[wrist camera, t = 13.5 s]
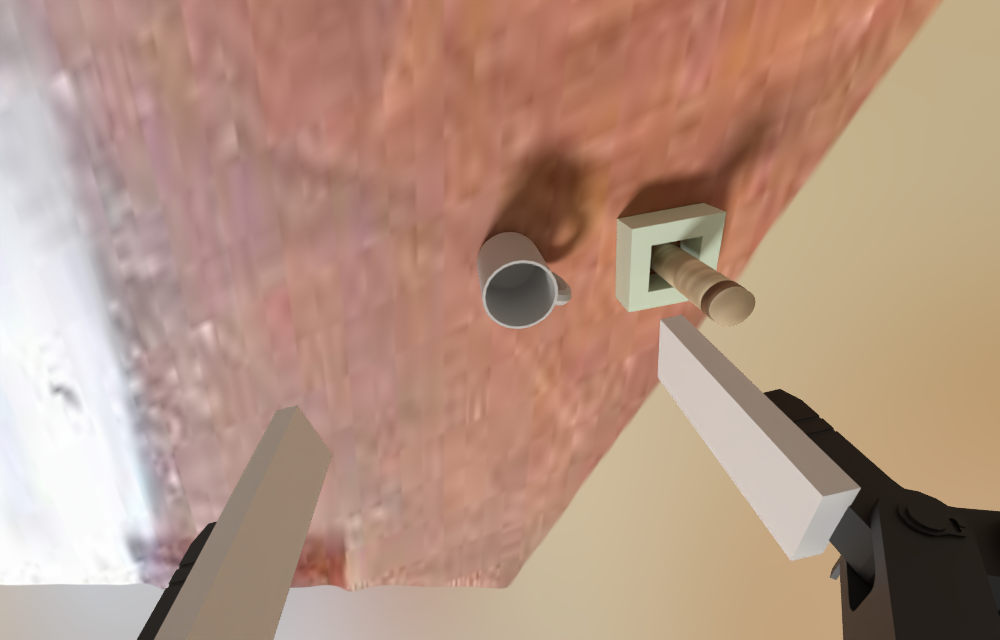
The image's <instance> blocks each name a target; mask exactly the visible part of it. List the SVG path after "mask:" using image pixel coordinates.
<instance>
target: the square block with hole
mask: <svg viewBox="0 0 1000 640" xmlns="http://www.w3.org/2000/svg"><path fill="white" fill-rule="evenodd" d="M725 217H726V211H723V210H721V209H718V208H716V207H713V206H711V205H708V204H705V203H699V204H694V205H688V206H683V207H678V208H672V209H667V210H661V211H656V212H650V213H645V214H640V215H634V216H629V217H623V218H618V219H617V245H616V295H615V297H616V298H617V299H618V300H619V301H620V303H621V304H622V305H623V306H624V307H625V309H626V310H627V311H628V312H633V311H638V310H643V309H648V308H654V307H659V306H664V305H669V304H675V303H680V302H685V301H690V300H688V299H687V298H686V297H685V296H684V295H682V294H681V293H680V292H679V291H678V290H676V289H675V288H674V287H673V286H672V285H670V284H669V283H668V282H667V281H666V280H664V279H663V278H662V277H661V276H660V275H658V274H657V273H656V274H651V275H649V274H650V260H651V247H652V246H653V245H658V244H663V243H669V242H674V241H679V240H681V242H680V248H681V249H683V250H684V251H686V252H688V253H689V254H691V255H692V256H694V257H695V258H697V259H699V260H700V261H702V262H703V263H705V264H706V265H708V266H710V267H711V268H713V269H714V270H716V268H717V262H718V257H719V251H720V245H721V240H722V234H723V228H724V223H725Z"/></svg>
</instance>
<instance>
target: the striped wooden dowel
mask: <svg viewBox="0 0 1000 640" xmlns="http://www.w3.org/2000/svg"><path fill="white" fill-rule="evenodd" d="M650 268H651V269H652V270H654V271H655V272H656V273H657V274H658V275H660V276H661V277H662V278H663V279H664V280H666V281H667V282H668V283H669V284H670V285H672V286H673V287H674V288H675V289H676V290H678V291H679V292H680V293H681V294H682V295H684V296H685V297H686V298H687V299H688V300H690V301H691V302H692V303H693V304H694V305H696V306H697V307H698V308H699V309H700V310H702V311H703V313H704V314H706V315H707V316H708V317H709V318H710V319H712V320H713V321H715V322H716V323H717V324H719V325H720V326H723V327H731V326H735V325H737V324H739V323H741V322H743V321H744V320H745V319H746V318H747V317H748V316H749V315H750V314H751V312H752V311H753V309H754V306H755V298H754V296H753V294H752V293H750V292H749V291H747V290H746V289H745V288H744V287H742V286H741V285H739V284H737V283H736V282H734V281H732V280H730V279H728V278H727V277H725V276H724V275H722V274H721V273H719V272H717V271H716V270H714V269H713V268H711V267H710V266H708V265H706V264H705V263H703V262H702V261H700V260H699V259H697V258H695V257H694V256H692V255H691V254H689V253H688V252H686V251H684V250H683V249H681V248H680V247H678V246H677V245H675V244H673V243H672V242H669V243H663V244H658V245H653V246H652V247H651V260H650Z"/></svg>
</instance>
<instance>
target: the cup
mask: <svg viewBox="0 0 1000 640" xmlns="http://www.w3.org/2000/svg"><path fill="white" fill-rule="evenodd" d="M477 269H478V276H479V282H480V288H481V294H482V300H483V306H484V308H485V310H486V312H487V314H488V315H489V316H490V318H491V319H492V320H493V321H495V322H496V323H498V324H499V325H501V326H504V327H507V328H515V329H520V328H527V327H530V326H533V325H535V324H537V323H539V322H540V321H542V320H544V319H545V318H546V317H547V316H548V315H549V314H550V313H551V311H552V309H553V308H554V306H555V305H564V304H566V303H567V302H568V301H569V300H570V299H571V289H570V287H569V285H568V284H567V283H566V282H565V281H564V280H563V279H562V278H561V277H559V276H558V275H557V274H555V273H553V272H551V271H550V269H549V267H548V266H547V264H546V262H545V261H544V259H543V257H542V256H541V254H540V252H539V250H538V249H537V247H536V246H535V244H534V243H533V242H532V241H531V240H530V239H529V238H527V237H526V236H524V235H522V234H520V233H516V232H504V233H500V234H497V235H495V236H493V237H491V238H490V239H489V240H487V241H486V242H485V244H484V245H483V246H482V247H481V250H480V252H479V254H478V259H477Z"/></svg>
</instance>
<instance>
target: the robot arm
mask: <svg viewBox="0 0 1000 640" xmlns="http://www.w3.org/2000/svg"><path fill="white" fill-rule="evenodd" d="M658 378H659V380H660V381H661V382H662V383H663V385H664V387H665V388H666V389H667V391H668V392H669V393H670V394H671V396H672V398H673V399H674V400H675V402H676V403H677V404H678V406H679V407H680V409H681V410H682V411H683V412H684V414H685V415H686V417H687V418H688V420H689V421H690V422H691V424H692V425H693V426H694V428H695V429H696V431H697V432H698V433H699V435H700V436H701V438H702V439H703V440H704V442H705V443H706V444H707V446H708V447H709V449H710V450H711V451H712V453H713V454H714V455H715V456H716V458H717V460H718V461H719V462H720V464H721V465H722V466H723V468H724V469H725V470H726V472H727V473H728V475H729V476H730V477H731V479H732V480H733V482H734V483H735V484H736V486H737V487H738V488H739V490H740V491H741V493H742V494H743V495H744V497H745V498H746V499H747V501H748V502H749V504H750V505H751V506H752V508H753V509H754V511H755V512H756V513H757V515H758V516H759V517H760V519H761V520H762V522H763V523H764V524H765V526H766V527H767V528H768V530H769V531H770V533H771V534H772V535H773V537H774V538H775V540H776V541H777V542H778V544H779V545H780V546H781V548H782V549H783V551H784V552H785V553H786V555H787V556H788V557H789V559H790V560H791V561H792V560H796V559H801V558H805V557H810V556H814V555H818V554H822V553H823V552H824V550H825V548H826V546H827V545H828V543H829V542H831V543H832V544H833V545H834V546H835V548H836V549H837V550H838V551H839V552H840V554H841V556H840V558H839V559H838V561H837V562H836V564H835V565H834V567H833V568H832V571H831V575H830V578H833V579H835V580H836V579H837V578H838V577H839V575H840V582H841V599H842V601H841V602H842V622H843V640H1000V511H988V510H977V509H966V508H956V507H950V506H947V505H946V504H944V503H942V502H941V501H939V500H937V499H936V498H933V497H930V496H928V495H926V494H923V493H921V492H918V491H913V490H908V489H904V488H902V487H901V486H900V485H898V484H897V483H896V482H894V481H893V480H892V479H891V478H890V477H888V476H887V475H886V474H885V473H884V472H883V471H882V470H880V469H879V468H878V467H877V466H876V465H875V464H874V463H873V462H871V461H870V460H869V459H868V458H867V457H866V456H864V455H863V454H862V453H861V452H860V451H859V450H858V449H857V448H855V447H854V446H853V445H852V444H851V443H850V442H849V441H847V440H846V439H845V438H844V437H843V436H842V435H841V434H840V433H838V432H837V431H836V432H835V431H834V429H833V427H832V426H831V425H829V424H828V423H827V422H826V421H825V420H824V419H821V418H819V415H818V414H817V413H816V412H815V411H813V410H812V409H811V408H810V407H809V406H808V405H807V404H805V403H804V402H803V401H802V400H800V399H798V398H797V397H795V396H793V395H791V394H789V393H787V392H785V391H783V390H781V389H778V390H774V391H769V392H765V393H762V392H761V391H760V390H759V389H758V388H757V387H756V386H755V385H754V384H753V383H752V382H751V381H750V380H749V379H748V378H747V377H746V376H745V375H744V374H743V373H742V372H741V371H740V370H739V369H737V367H735V366H734V365H733V364H732V363H731V362H730V361H729V360H728V359H727V358H726V357H725V356H724V355H723V354H722V353H721V352H720V351H719V350H718V349H717V348H716V347H715V346H714V345H713V344H712V343H711V342H710V341H709V340H708V339H707V338H705V337H704V336H703V335H702V334H701V333H700V332H699V331H698V330H697V329H696V328H695V327H694V326H693V325H692V324H691V323H690V322H689V321H688V320H687V319H686V318H685V317H684V316H683V315H678V316H674V317H669V318H665V319H661V320H660V340H659V361H658ZM331 457H332V452H331V451H330V450H329V448H328V447H327V445H326V444H325V443H324V441H323V440H322V438H321V437H320V436H319V434H318V433H317V432H316V430H315V429H314V427H313V426H312V425H311V423H310V422H309V420H308V419H307V418H306V416H305V415H304V414H303V412H302V411H301V409H300V408H299V407H298V405H297V406H293V407H289V408H285V409H280V410H277V411H276V413H275V414H274V416H273V418H272V420H271V422H270V424H269V426H268V428H267V429H266V431H265V433H264V435H263V437H262V439H261V441H260V443H259V444H258V446H257V448H256V450H255V452H254V454H253V456H252V457H251V459H250V461H249V463H248V465H247V467H246V469H245V471H244V472H243V474H242V476H241V478H240V480H239V482H238V484H237V485H236V487H235V489H234V491H233V493H232V495H231V497H230V499H229V500H228V502H227V504H226V506H225V508H224V510H223V512H222V514H221V515H220V517H219V519H218V521H217V522H213V523H209V524H208V525H207V526H206V527H205V528H204V530H203V531H202V532H201V533H200V534H199V535H198V536H197V538H196V539H195V540H194V541H193V542H192V543H191V545H190V547H189V549H188V550H187V552H186V554H185V556H184V557H183V559H182V561H181V563H180V564H179V569H178V570H176V571H175V573H174V575H173V577H172V579H171V580H170V582H169V587H168V588H166V589H165V591H164V593H163V595H162V596H161V598H160V600H159V602H158V603H157V605H156V607H155V609H154V611H153V612H152V614H151V616H150V618H149V619H148V621H147V623H146V624H145V626H144V628H143V630H142V632H141V633H140V635H139V637H138V639H137V640H273V639H274V636H275V633H276V629H277V626H278V623H279V620H280V617H281V614H282V611H283V607H284V604H285V601H286V598H287V595H288V592H289V589H290V586H291V582H292V579H293V576H294V573H295V570H296V567H297V564H298V560H299V557H300V554H301V551H302V548H303V545H304V542H305V538H306V535H307V532H308V529H309V526H310V523H311V520H312V516H313V513H314V510H315V507H316V504H317V501H318V498H319V494H320V491H321V488H322V485H323V482H324V479H325V476H326V473H327V469H328V466H329V463H330V460H331Z"/></svg>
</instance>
